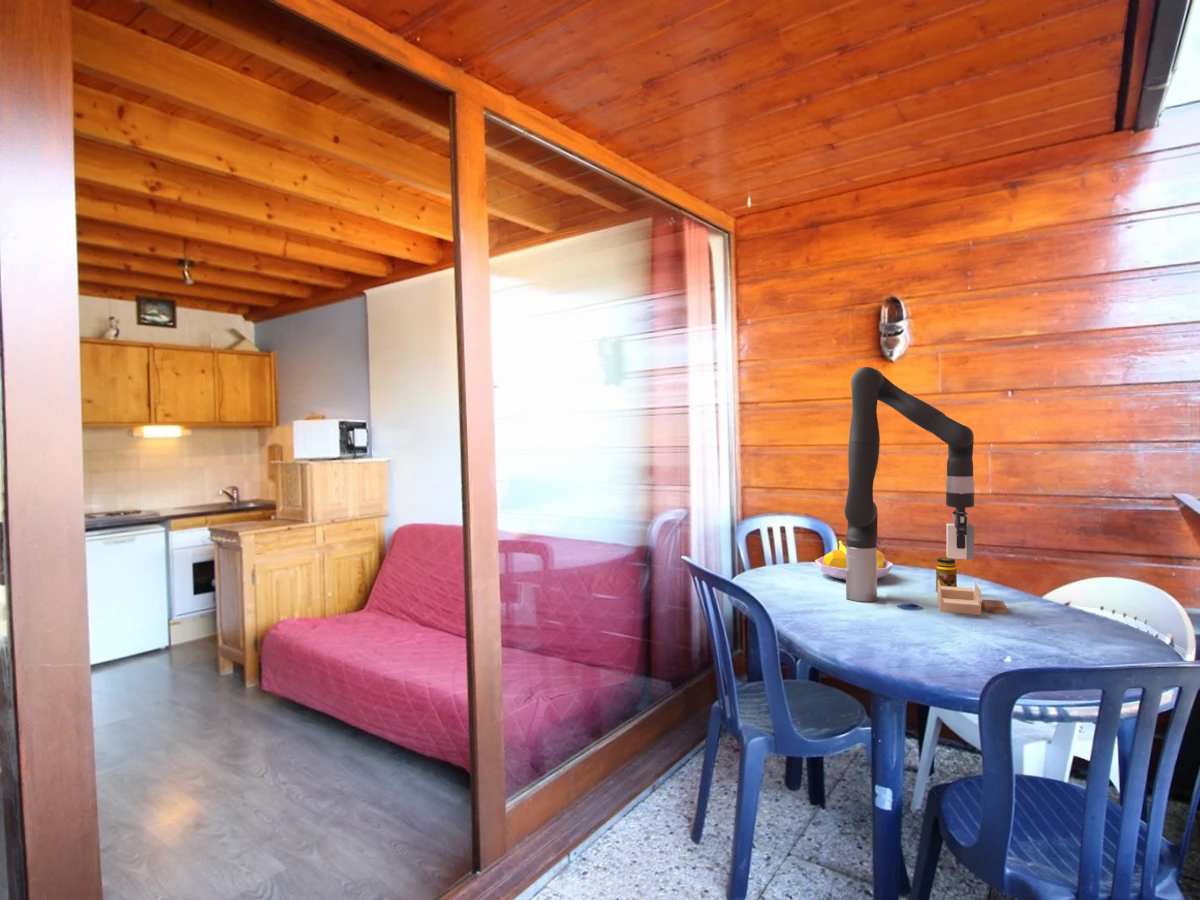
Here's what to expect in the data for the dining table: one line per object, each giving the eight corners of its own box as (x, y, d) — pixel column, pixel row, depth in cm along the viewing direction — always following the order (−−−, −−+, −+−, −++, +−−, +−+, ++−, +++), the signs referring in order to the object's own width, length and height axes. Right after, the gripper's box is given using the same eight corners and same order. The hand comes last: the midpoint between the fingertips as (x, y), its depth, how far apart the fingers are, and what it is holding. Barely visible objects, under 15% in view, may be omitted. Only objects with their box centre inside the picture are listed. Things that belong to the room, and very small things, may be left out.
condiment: (947, 598, 210) (947, 561, 209) (925, 592, 218) (925, 557, 217) (963, 595, 213) (963, 559, 212) (941, 589, 220) (940, 554, 220)
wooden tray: (941, 617, 190) (941, 591, 189) (936, 599, 208) (936, 576, 208) (982, 620, 185) (982, 594, 185) (974, 602, 204) (974, 578, 204)
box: (947, 558, 195) (947, 525, 195) (946, 555, 200) (946, 523, 199) (974, 559, 193) (974, 526, 192) (972, 556, 197) (972, 524, 196)
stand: (985, 614, 191) (985, 605, 191) (981, 607, 199) (981, 599, 198) (1007, 616, 189) (1007, 607, 189) (1002, 608, 196) (1002, 600, 196)
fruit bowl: (895, 588, 224) (895, 555, 223) (813, 583, 233) (813, 552, 233) (890, 571, 250) (890, 542, 249) (816, 567, 260) (816, 539, 259)
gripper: (944, 488, 203) (944, 542, 204) (947, 493, 190) (948, 550, 191) (971, 488, 200) (971, 543, 201) (977, 493, 187) (977, 552, 188)
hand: (960, 546), depth 196 cm, fingers closed on box, 4 cm apart
